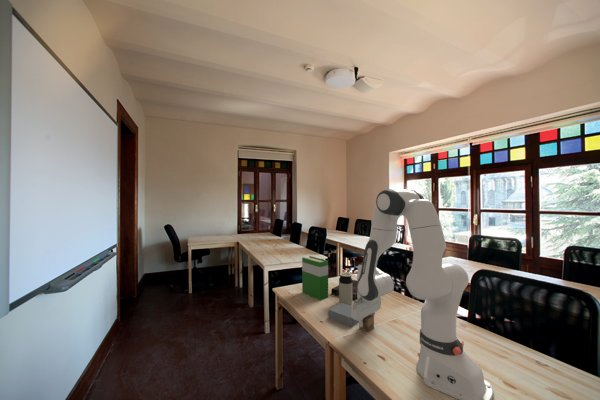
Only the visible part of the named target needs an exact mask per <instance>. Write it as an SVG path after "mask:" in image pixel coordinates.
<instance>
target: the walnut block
mask: <svg viewBox="0 0 600 400" xmlns="http://www.w3.org/2000/svg"><path fill="white" fill-rule="evenodd" d="M362 322H363V323H364V326H363V327H360V326H359V329H361V330H363V331H365V332H367V333H369V332H371V331H372V330H375V329H374V328H375V315H374V316H372V315H368V316H366V317H365V318H363V320H362Z"/></svg>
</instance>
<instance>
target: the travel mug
mask: <svg viewBox="0 0 600 400" xmlns="http://www.w3.org/2000/svg"><path fill="white" fill-rule="evenodd" d="M352 275H353V274H352V273H350V272H348V271H347V272H346V271H345V272H344V271H343V272H340V273H339V279H338V285H339V296H338V300H339V301H338V304H339V303H344V304H347V305H350V306H352V305H353V300H352V280H353V278H352Z"/></svg>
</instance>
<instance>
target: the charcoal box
mask: <svg viewBox="0 0 600 400" xmlns="http://www.w3.org/2000/svg"><path fill="white" fill-rule="evenodd" d="M351 312H352V305H347V304H344V303H339V302H338V303H337V304H336V305H334V306H332V307H330V308H328V317H327V318H328V319H329V320H332V321H334V322H337V323H339V324H342V325H345V326H347V327H349V328H353V327H354V326H355V325H357V324H359V321H356V320H354V319H352V317H351Z"/></svg>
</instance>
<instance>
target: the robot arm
mask: <svg viewBox="0 0 600 400" xmlns="http://www.w3.org/2000/svg"><path fill="white" fill-rule="evenodd" d="M375 205H376V206H375V208H374V210H373V214H372V219H371V227H370V229H371V231H370V235H369V239H368V240H367V243H366V245H365V248H364V253H363V258H362V262H361V263H359V264H358V265H357V272H356V280H357V281H358V282H357V298H358V299H356V300H355V301H353V302H352V305H351V306H352V312H351V317H352V319H354V320H356V321H359V322H358V324H359V326H360V327H363V326H364V323H363V322H362V320H363V318H365V317H366V316H368V315H372V316H374V317H375V315H376V312H377V311H379V310H380V309H381V307H382V296H385V295H388V294H391V293H392V292H393V291H394V289H395V282H394V279H393V277H392V275H390V274H388V273H387V272H384V271H382V270H381V269H380V268H378V267H377V265H378V261H379V258H380V256H381V255H383V253H385V251H387V250H389V249H390V248H391V247H392V246H394V244H395V242H396V240H397V234H398V221H399V219H400V217H402V216H403V217H404V218H405V219H406V220H407V225H408V230H409V234H410V239H411V245H412V252H413V253H412V255H413V256H412V264H411V268H410V270H409V272H408V273H407V275H406V279H405V284H406V287H407V290H408V292H409V293H410V295H411V296H413V297H414V298H415V299H418V300H423V301H424V300H425V303H424V304H423V305H422V307H421V309H420V330H419V345H420V348H419V355H418V356H419V357H418V360H417V363H416V371H417V372H418V374H419V375H420V376H421V377H422V379H423V382H424V384H425V385H426V386H427V387H429V388H431V389H434V390H436V391H439V392H441V393H443V394H446V395H448V396H450V397H453V398H455V399H458V400H493V398H494V388H493V386H492V384H491V383H490V382H489V380H486V379H485V378H484V373H483V371H482V367H481V366H480V365H478V364H477V362H476V361H474V360H473V359H472V358H471V357H470V356H469V355H468V354H467V353H466V352H465V351H464V342H465V341H464V340H462V341H460V339H458V337H457V317H458V315H457V314H458V310H459V306H460V304H461V300H462V296H463V294H464V291H465V289H466V288H467V286H468V284H469V281H470V280H469V274H468V273H467V271H466V270H465V269H464V268H463V267H462V266H460V265H459V264H456V263H455V264H454V263H448V262H443V255H444V252H445V250H447V249H446V248H447V243H446V239H445V236H444V235H445V234H444V231H443V227H442V224H441V219H440V217H439V214H438V212H437V209H436V207H435V205H434V204H433V202H431V201H430V200H428V199H425V198H424V196H423V195H422V194H421V193H420V192H418V191H417V190H413V189H412V190H409V189H404V188H394V189H391V188H389V189H384V190H381V191H380V192H379V193H378V194H377V196H376V199H375Z"/></svg>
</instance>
